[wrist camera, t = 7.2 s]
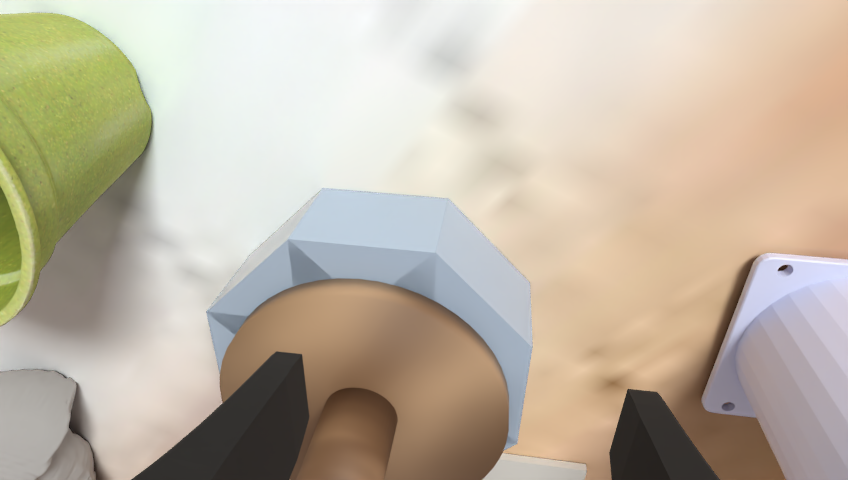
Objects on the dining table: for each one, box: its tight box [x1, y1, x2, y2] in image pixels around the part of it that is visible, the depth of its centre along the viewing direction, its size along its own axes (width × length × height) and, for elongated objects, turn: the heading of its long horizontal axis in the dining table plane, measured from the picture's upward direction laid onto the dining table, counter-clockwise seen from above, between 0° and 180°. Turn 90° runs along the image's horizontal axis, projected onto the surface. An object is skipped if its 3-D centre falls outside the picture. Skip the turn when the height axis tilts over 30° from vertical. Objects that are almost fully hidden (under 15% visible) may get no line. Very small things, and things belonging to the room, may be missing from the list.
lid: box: [220, 278, 509, 480], centre depth 20 cm, size 11×11×6 cm
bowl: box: [206, 188, 533, 450], centre depth 23 cm, size 12×12×4 cm
